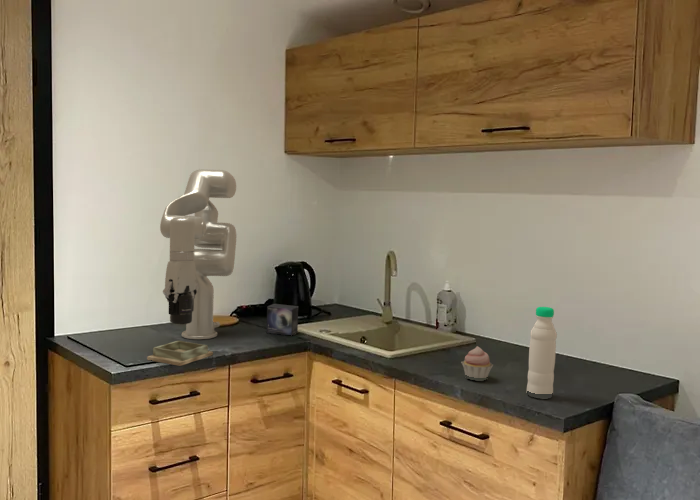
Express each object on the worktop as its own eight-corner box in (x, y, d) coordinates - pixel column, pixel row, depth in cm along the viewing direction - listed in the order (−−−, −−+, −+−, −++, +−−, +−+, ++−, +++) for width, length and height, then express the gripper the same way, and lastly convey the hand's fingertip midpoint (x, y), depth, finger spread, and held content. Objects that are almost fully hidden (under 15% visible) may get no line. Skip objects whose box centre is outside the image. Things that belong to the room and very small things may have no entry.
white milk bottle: (527, 399, 186) (533, 309, 184) (525, 391, 193) (530, 304, 191) (554, 401, 185) (560, 310, 183) (550, 393, 192) (556, 306, 190)
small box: (265, 333, 255) (266, 306, 254) (272, 330, 261) (273, 303, 260) (291, 336, 251) (292, 308, 250) (298, 333, 257) (299, 305, 256)
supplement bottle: (186, 325, 211) (187, 287, 210) (166, 323, 213) (166, 285, 211) (195, 321, 218) (196, 284, 217) (176, 319, 219) (176, 282, 218)
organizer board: (181, 349, 226) (181, 339, 226) (212, 354, 221) (213, 344, 220) (147, 359, 212) (147, 348, 212) (180, 365, 206) (180, 354, 206)
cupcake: (482, 374, 210) (484, 342, 209) (497, 382, 201) (499, 349, 200) (455, 375, 207) (456, 343, 206) (468, 384, 198) (470, 350, 197)
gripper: (190, 254, 223) (189, 307, 224) (153, 258, 207) (152, 315, 209) (208, 255, 219) (207, 310, 221) (172, 259, 204) (172, 318, 206)
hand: (181, 312), depth 215 cm, fingers closed on supplement bottle, 6 cm apart
